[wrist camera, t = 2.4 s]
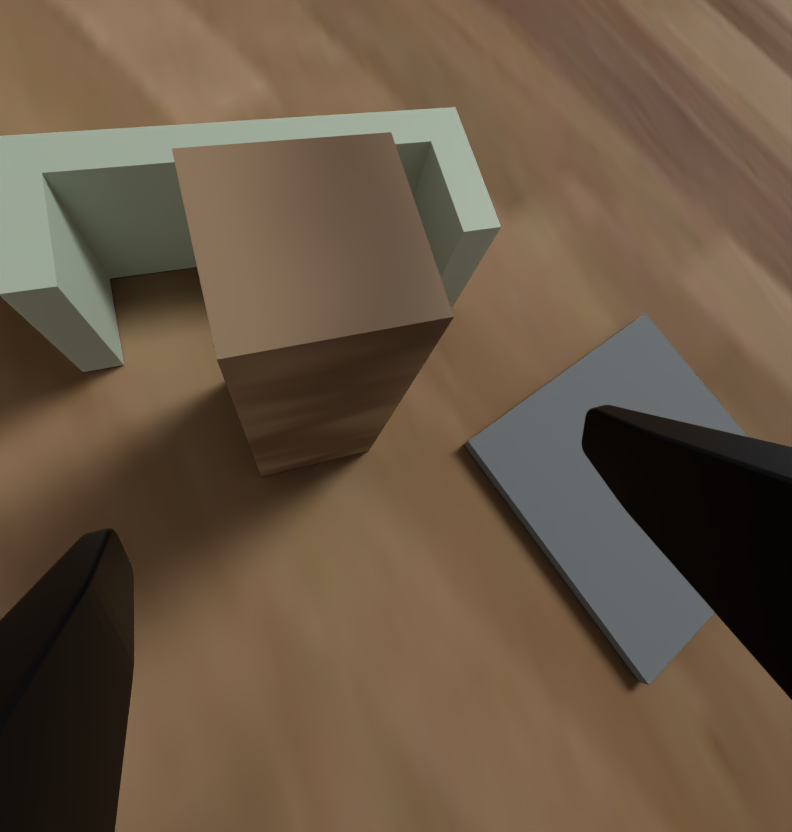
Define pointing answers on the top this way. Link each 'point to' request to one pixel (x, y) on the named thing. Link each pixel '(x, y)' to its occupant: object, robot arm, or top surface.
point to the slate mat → (603, 491)
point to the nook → (166, 219)
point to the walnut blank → (312, 288)
